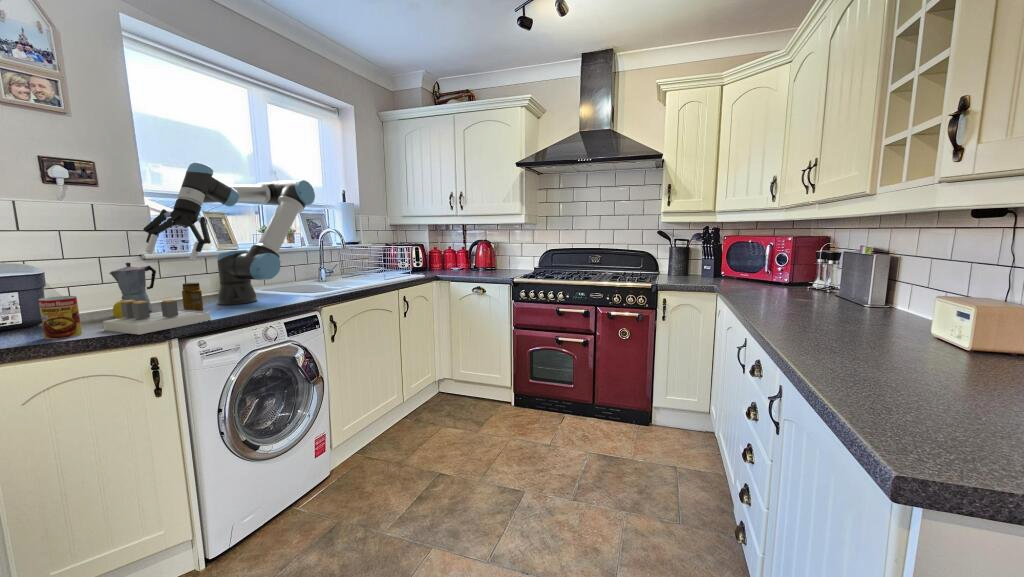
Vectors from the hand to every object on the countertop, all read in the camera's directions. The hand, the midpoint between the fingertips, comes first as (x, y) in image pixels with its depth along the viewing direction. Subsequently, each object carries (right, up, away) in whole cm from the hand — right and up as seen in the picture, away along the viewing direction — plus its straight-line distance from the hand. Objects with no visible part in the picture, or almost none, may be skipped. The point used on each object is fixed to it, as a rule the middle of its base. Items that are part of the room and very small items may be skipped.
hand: (170, 256), depth 148 cm
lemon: (-16, -24, 0) cm, 29 cm away
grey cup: (-1, -21, -10) cm, 24 cm away
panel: (+1, -24, -5) cm, 25 cm away
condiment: (-2, -22, +14) cm, 26 cm away
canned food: (-16, -26, -20) cm, 37 cm away
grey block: (+7, -21, -8) cm, 23 cm away
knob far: (-6, -21, -8) cm, 23 cm away
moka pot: (-28, -21, +18) cm, 39 cm away
